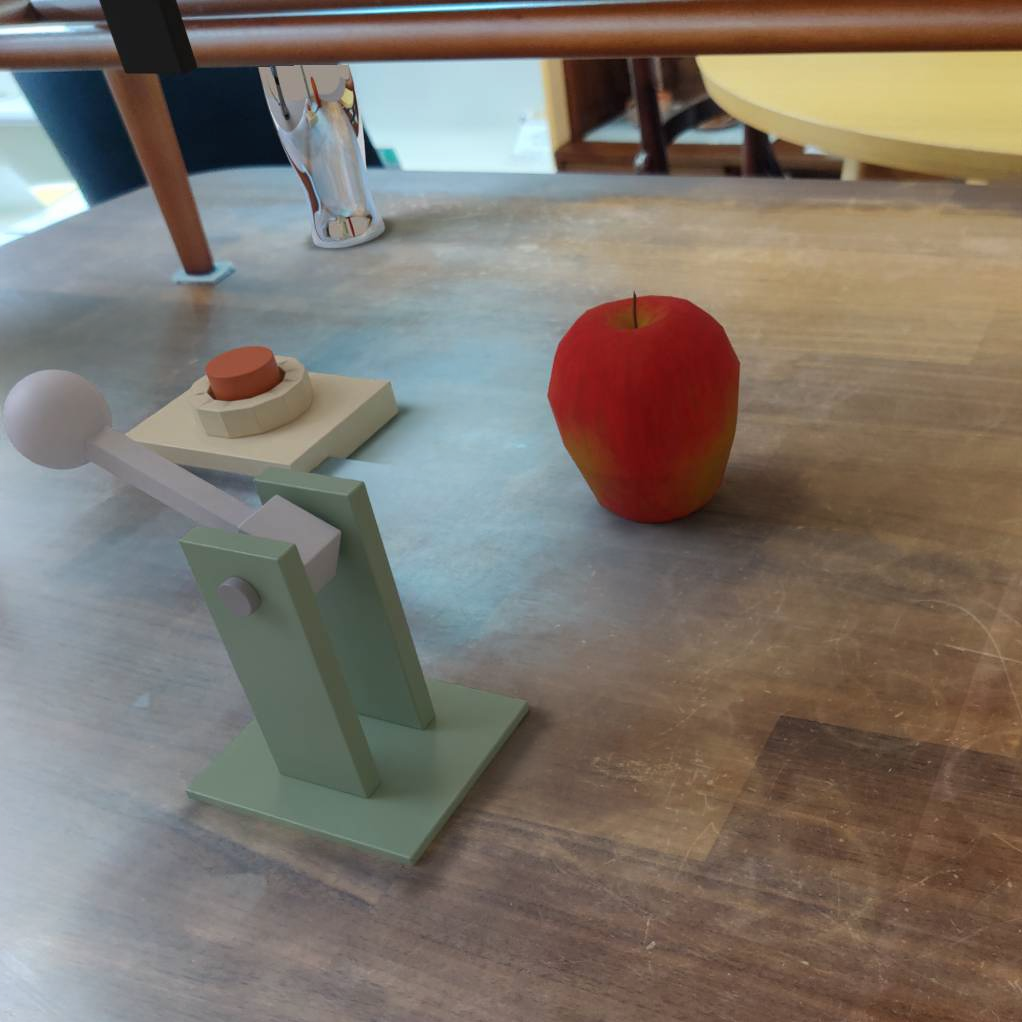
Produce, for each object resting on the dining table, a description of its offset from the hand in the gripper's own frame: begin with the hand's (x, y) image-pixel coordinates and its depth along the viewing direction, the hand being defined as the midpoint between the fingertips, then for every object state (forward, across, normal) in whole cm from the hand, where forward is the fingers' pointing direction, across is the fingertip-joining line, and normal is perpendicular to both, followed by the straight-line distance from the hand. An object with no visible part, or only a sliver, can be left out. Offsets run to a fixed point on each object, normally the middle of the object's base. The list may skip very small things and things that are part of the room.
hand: (15, 136), depth 38 cm
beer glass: (+26, +52, +32) cm, 66 cm away
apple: (+25, +20, -11) cm, 34 cm away
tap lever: (+13, -1, -1) cm, 13 cm away
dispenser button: (+22, +21, +16) cm, 34 cm away
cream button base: (+25, +21, +16) cm, 36 cm away
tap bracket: (+25, -1, -7) cm, 26 cm away
